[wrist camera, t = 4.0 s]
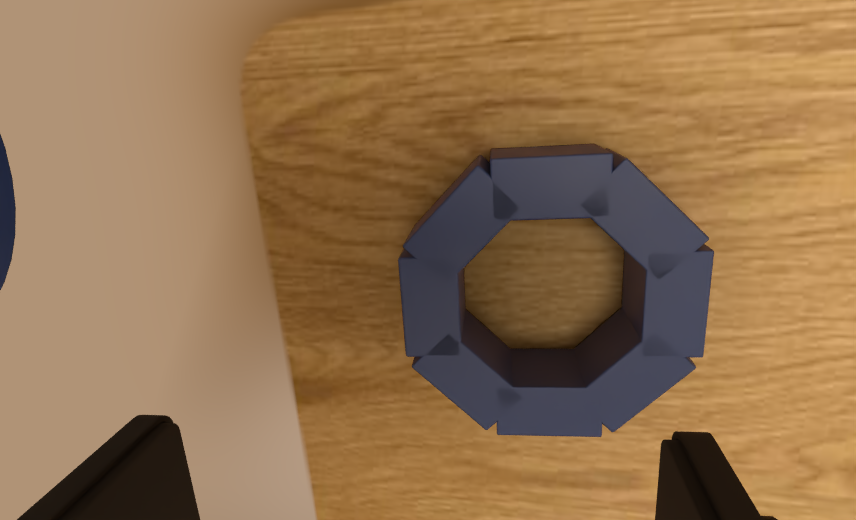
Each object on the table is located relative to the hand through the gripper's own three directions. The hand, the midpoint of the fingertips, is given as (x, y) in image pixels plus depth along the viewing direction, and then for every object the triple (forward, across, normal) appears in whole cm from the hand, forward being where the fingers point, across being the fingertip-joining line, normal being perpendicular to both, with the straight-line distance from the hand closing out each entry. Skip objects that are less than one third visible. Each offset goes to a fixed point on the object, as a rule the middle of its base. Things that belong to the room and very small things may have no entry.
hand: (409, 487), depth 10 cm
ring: (+12, -3, 0) cm, 12 cm away
